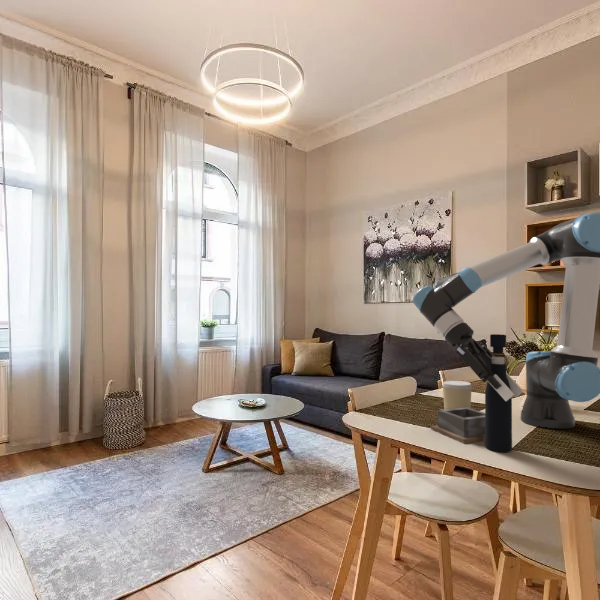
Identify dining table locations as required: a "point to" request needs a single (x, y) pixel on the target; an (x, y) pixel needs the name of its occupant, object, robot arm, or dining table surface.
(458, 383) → the coffee cup
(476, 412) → the collar stand
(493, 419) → the wine bottle
